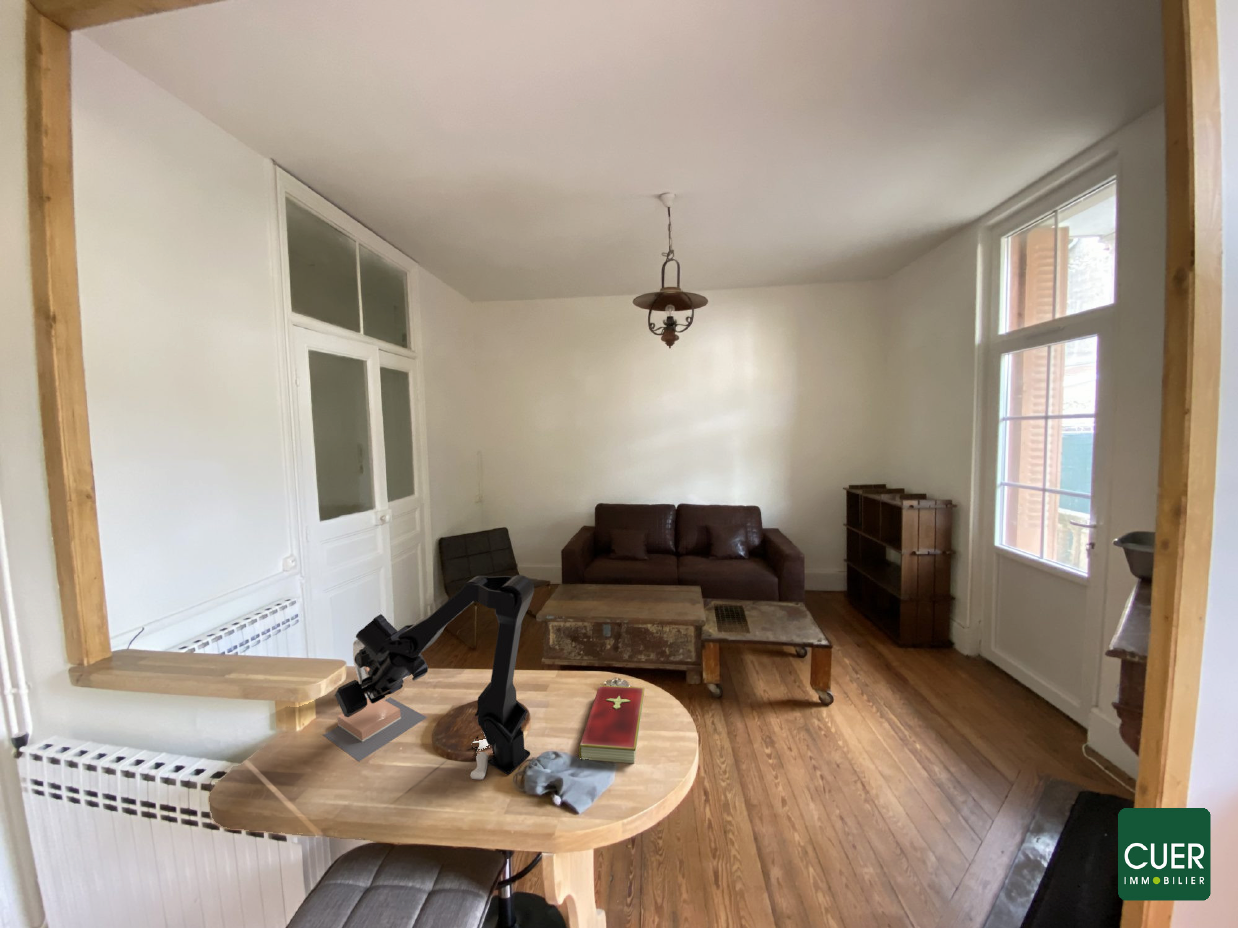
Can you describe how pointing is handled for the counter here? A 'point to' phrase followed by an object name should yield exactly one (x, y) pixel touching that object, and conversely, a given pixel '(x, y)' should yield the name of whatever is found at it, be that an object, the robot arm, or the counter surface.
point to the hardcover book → (613, 725)
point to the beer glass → (361, 672)
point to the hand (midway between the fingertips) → (372, 697)
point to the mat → (379, 739)
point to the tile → (370, 719)
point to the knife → (480, 761)
